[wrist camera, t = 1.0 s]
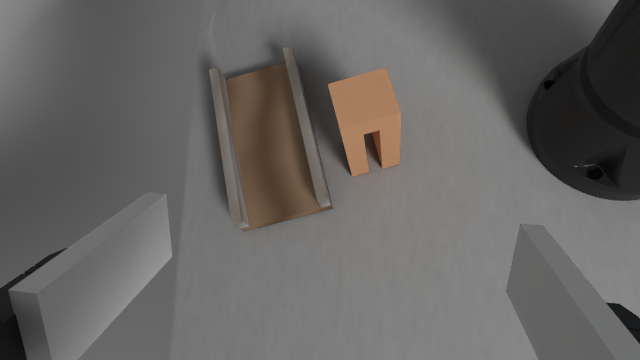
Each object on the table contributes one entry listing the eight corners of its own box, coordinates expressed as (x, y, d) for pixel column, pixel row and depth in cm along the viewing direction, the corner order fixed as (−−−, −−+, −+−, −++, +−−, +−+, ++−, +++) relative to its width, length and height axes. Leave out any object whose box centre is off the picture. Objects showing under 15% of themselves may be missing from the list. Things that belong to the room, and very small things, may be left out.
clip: (387, 127, 46) (386, 67, 35) (399, 164, 44) (401, 112, 34) (342, 139, 46) (327, 84, 36) (352, 176, 44) (339, 129, 34)
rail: (298, 65, 50) (291, 45, 47) (332, 208, 43) (327, 197, 40) (221, 87, 51) (209, 69, 47) (243, 231, 44) (231, 222, 41)
